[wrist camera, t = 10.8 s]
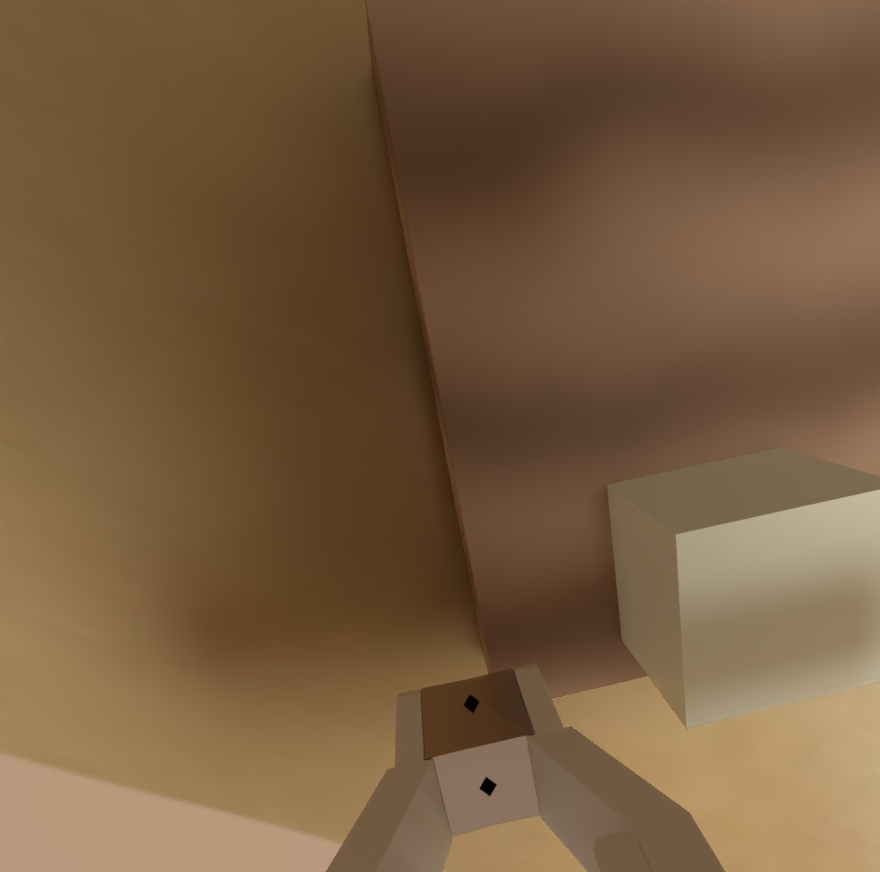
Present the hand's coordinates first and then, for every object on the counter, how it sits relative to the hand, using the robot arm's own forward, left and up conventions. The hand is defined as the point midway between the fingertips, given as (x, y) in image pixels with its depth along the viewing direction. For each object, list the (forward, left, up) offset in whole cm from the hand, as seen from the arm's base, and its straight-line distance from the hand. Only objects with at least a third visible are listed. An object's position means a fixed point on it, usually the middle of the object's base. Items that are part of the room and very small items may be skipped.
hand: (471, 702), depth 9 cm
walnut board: (-5, +7, -6) cm, 11 cm away
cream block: (0, +7, -3) cm, 8 cm away
